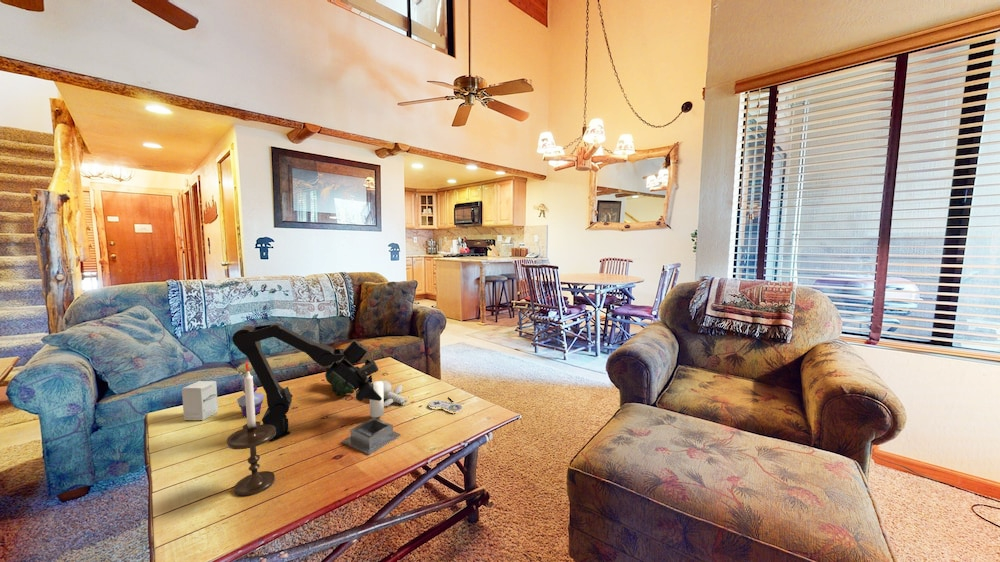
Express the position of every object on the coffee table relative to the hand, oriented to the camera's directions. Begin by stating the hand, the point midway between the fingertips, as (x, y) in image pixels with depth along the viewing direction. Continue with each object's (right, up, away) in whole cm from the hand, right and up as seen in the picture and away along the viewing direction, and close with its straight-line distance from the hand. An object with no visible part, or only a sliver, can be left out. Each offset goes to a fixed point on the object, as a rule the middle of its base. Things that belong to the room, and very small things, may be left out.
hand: (380, 396), depth 134 cm
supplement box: (-68, -8, 0) cm, 69 cm away
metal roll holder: (+2, -10, -15) cm, 18 cm away
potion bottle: (-50, -8, +2) cm, 51 cm away
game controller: (+25, -8, +12) cm, 28 cm away
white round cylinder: (-1, -7, 0) cm, 7 cm away
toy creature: (-3, -7, +16) cm, 17 cm away
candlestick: (-21, -12, -38) cm, 45 cm away
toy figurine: (-26, -6, +25) cm, 36 cm away
